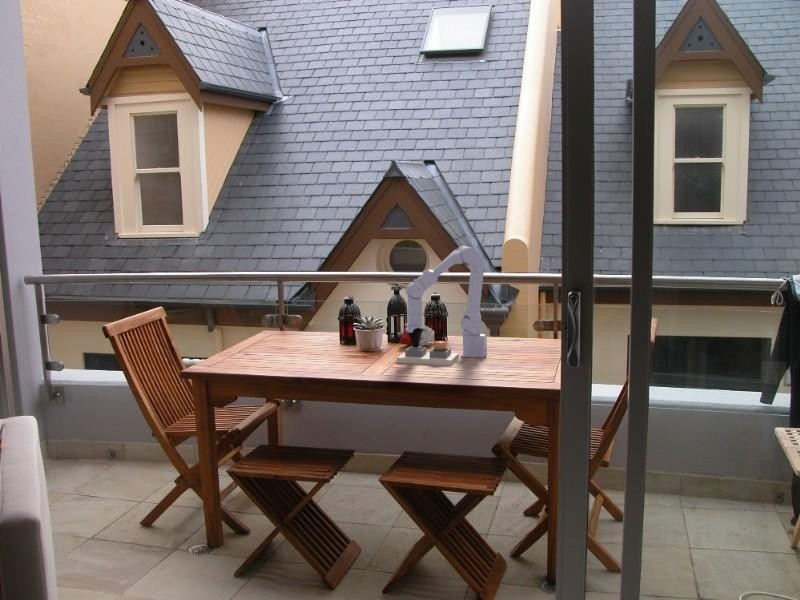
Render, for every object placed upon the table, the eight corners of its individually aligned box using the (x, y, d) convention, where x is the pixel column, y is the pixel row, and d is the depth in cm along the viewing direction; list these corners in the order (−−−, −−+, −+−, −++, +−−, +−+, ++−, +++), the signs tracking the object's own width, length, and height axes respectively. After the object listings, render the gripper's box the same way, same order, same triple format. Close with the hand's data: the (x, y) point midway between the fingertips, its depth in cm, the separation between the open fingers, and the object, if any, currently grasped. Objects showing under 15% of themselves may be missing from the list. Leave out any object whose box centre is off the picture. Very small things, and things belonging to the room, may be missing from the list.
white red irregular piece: (435, 342, 344) (415, 353, 333) (414, 339, 351) (393, 350, 340) (433, 323, 342) (413, 333, 331) (412, 320, 349) (391, 330, 337)
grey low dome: (423, 352, 318) (422, 345, 317) (419, 354, 313) (419, 348, 313) (412, 351, 319) (411, 345, 319) (408, 354, 315) (408, 347, 314)
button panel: (458, 358, 317) (458, 347, 317) (451, 365, 306) (451, 353, 305) (406, 355, 324) (405, 344, 323) (397, 362, 313) (396, 351, 312)
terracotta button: (447, 347, 314) (447, 341, 314) (444, 350, 310) (444, 343, 309) (436, 347, 316) (435, 340, 315) (432, 349, 311) (432, 343, 311)
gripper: (410, 309, 322) (411, 342, 324) (399, 316, 308) (400, 350, 310) (427, 310, 319) (428, 343, 322) (417, 316, 306) (417, 351, 308)
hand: (415, 347), depth 316 cm, fingers closed, pressing on grey low dome
